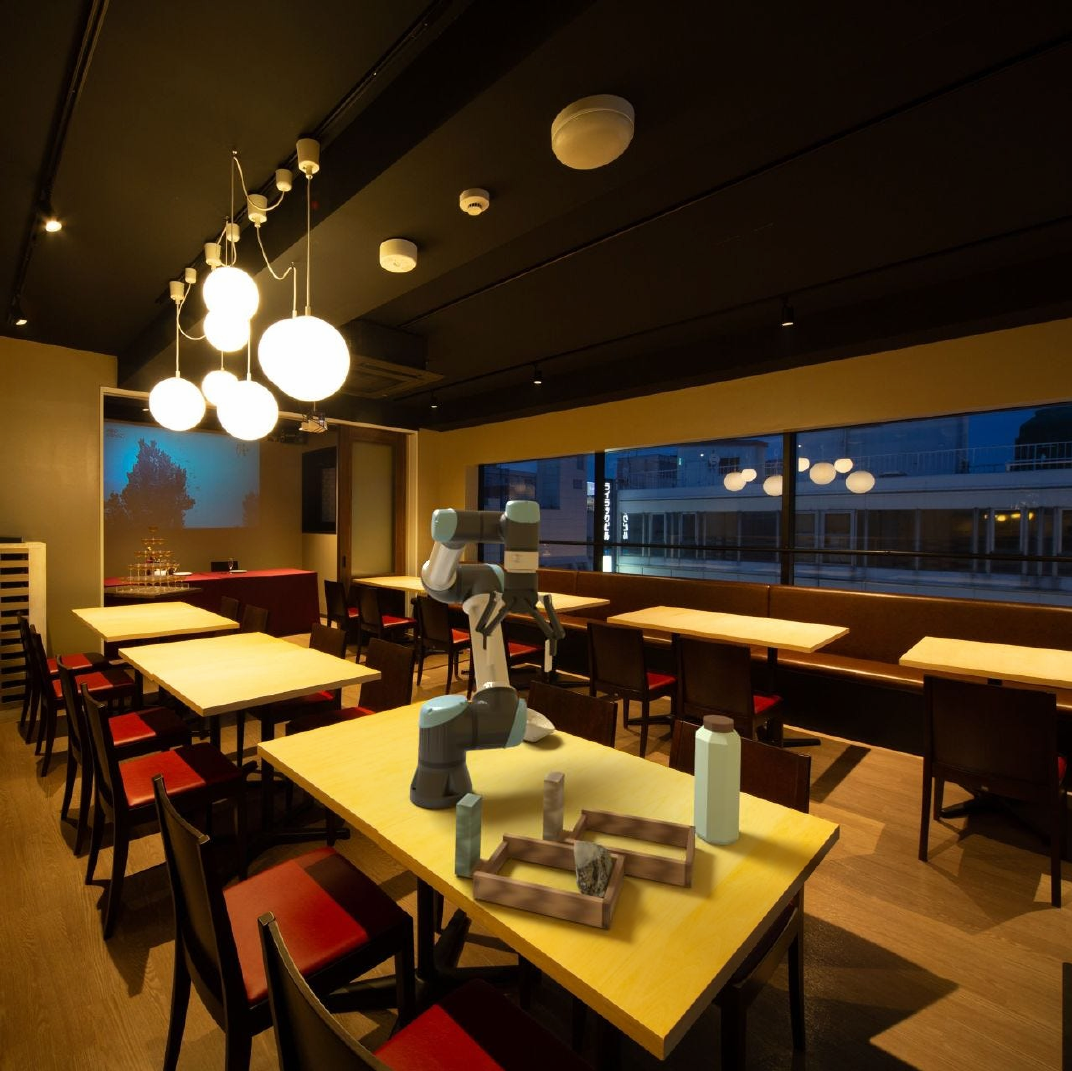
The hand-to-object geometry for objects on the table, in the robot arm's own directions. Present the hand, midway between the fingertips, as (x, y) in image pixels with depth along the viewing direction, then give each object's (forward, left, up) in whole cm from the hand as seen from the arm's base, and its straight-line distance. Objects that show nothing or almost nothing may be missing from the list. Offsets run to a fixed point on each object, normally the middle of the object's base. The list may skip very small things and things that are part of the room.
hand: (518, 667), depth 127 cm
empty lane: (+23, -3, -34) cm, 41 cm away
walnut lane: (+11, -19, -34) cm, 41 cm away
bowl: (-14, +54, -35) cm, 65 cm away
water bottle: (+42, +12, -35) cm, 56 cm away
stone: (+21, -18, -35) cm, 45 cm away
